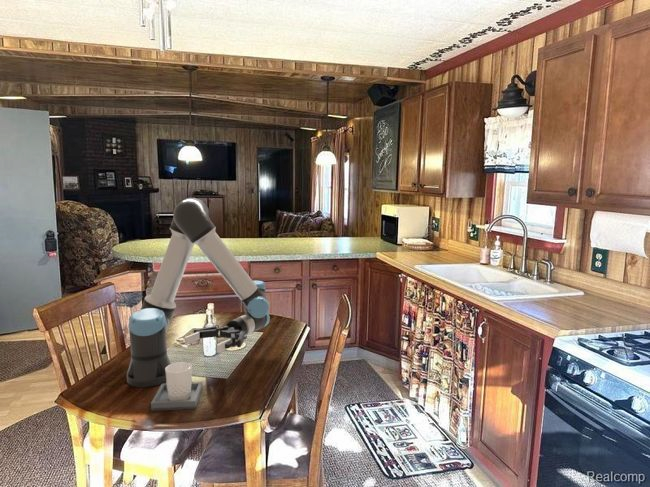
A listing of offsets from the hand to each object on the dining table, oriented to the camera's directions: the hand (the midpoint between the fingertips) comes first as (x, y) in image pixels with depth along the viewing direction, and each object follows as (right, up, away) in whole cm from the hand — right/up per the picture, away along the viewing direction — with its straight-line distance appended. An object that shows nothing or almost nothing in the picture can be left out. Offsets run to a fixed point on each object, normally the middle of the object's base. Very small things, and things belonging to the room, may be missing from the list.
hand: (201, 345), depth 149 cm
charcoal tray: (-5, -16, -7) cm, 18 cm away
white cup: (-5, -15, -7) cm, 17 cm away
